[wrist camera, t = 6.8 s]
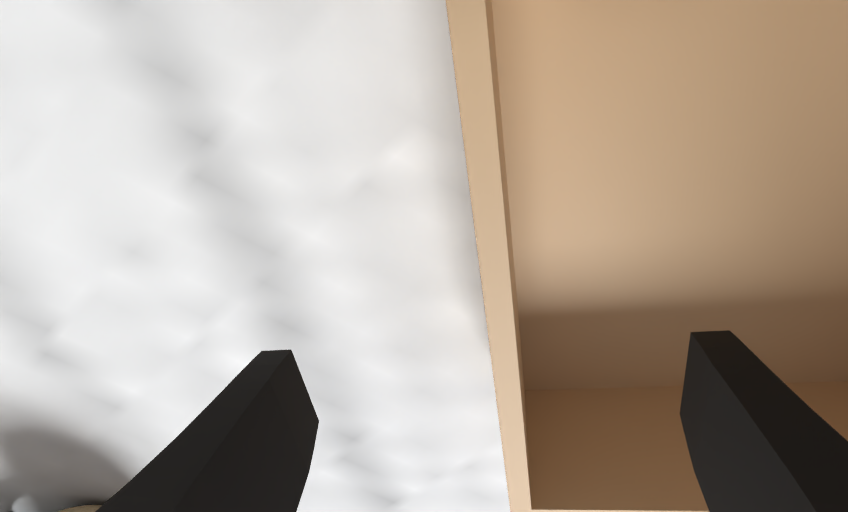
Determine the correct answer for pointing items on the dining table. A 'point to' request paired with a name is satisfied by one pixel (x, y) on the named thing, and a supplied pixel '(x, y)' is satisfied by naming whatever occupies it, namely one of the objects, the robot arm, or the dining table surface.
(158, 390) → the dining table surface
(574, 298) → the carton
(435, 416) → the dining table surface
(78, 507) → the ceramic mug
